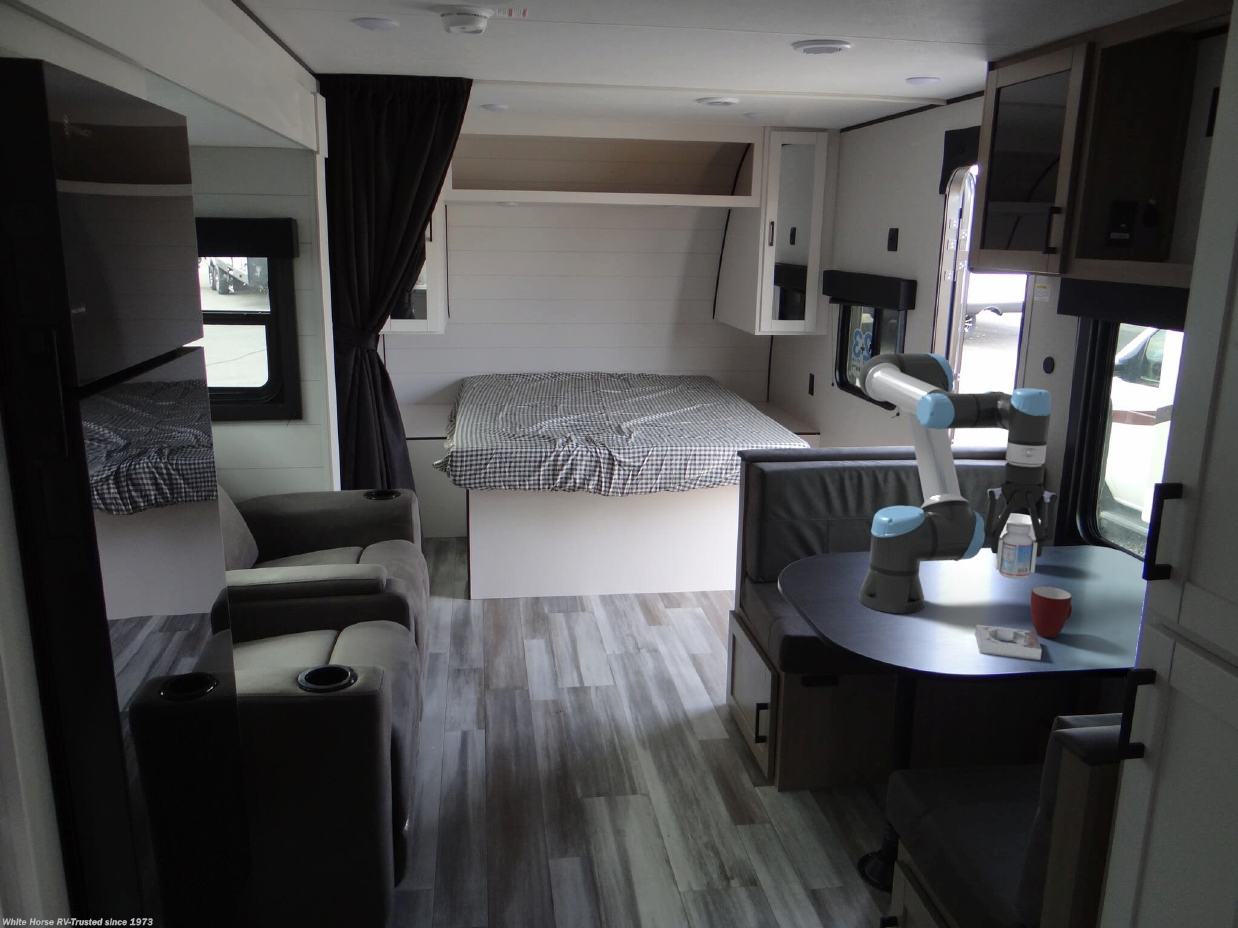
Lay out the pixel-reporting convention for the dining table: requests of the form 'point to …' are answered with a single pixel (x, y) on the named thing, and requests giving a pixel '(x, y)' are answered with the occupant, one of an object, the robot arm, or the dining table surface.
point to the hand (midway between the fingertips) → (1014, 569)
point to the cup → (1021, 519)
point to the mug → (1049, 610)
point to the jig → (1023, 638)
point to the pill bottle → (1016, 551)
